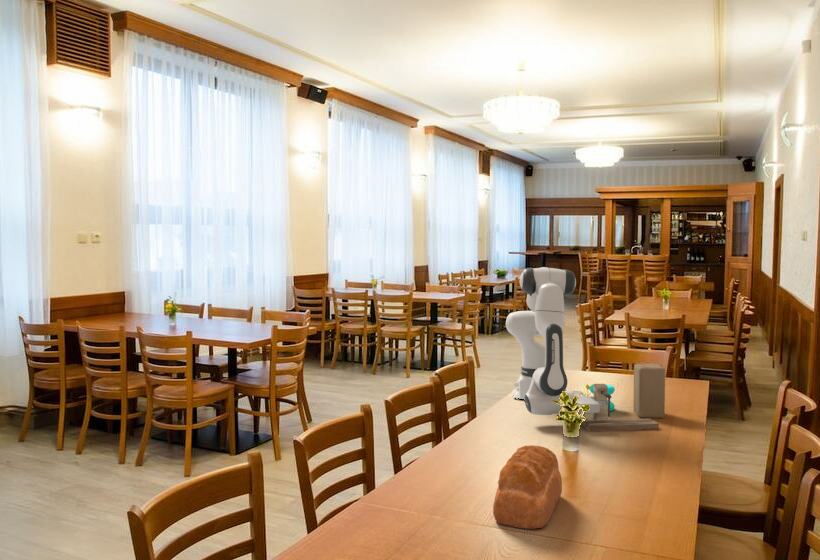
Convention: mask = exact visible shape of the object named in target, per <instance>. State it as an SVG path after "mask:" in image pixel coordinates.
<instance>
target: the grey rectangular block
mask: <svg viewBox="0 0 820 560" xmlns="http://www.w3.org/2000/svg"><path fill="white" fill-rule="evenodd" d="M665 390H666V369H665V368H664V367H663V366H662V365H660V364H658V363H634V365H633V412H634V413H635V414H636V415H637V417H639V418H640V417H641V418H640V419H663V418H665V415H666V414H665V409H666V406H665V402H666V398H665V397H666V391H665Z"/></svg>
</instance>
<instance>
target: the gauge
mask: <svg viewBox="0 0 820 560" xmlns="http://www.w3.org/2000/svg"><path fill="white" fill-rule="evenodd" d="M605 384H606V383H594V394H593V397H594V400H595V401H606V406H601V407H600V412H599V413H592V414H593V417H592V418H593V419H592V421H598V420H608V417H609V418H610V417H611V411H610V401H611V399H612V394H611V395H609V394H608V386H607V385H605ZM607 405H608V412H607Z"/></svg>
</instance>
